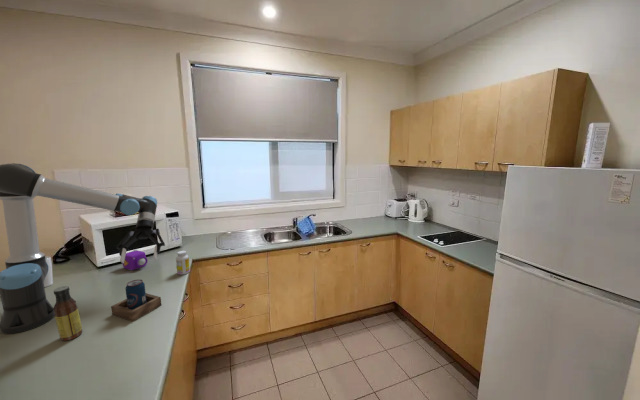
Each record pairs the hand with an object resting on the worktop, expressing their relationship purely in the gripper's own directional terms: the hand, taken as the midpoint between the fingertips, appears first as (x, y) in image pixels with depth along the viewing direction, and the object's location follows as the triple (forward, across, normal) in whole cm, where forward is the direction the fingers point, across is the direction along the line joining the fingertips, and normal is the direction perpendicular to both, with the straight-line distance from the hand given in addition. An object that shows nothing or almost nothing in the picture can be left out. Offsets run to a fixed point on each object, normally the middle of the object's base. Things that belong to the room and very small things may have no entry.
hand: (138, 260), depth 124 cm
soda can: (+22, -2, -3) cm, 22 cm away
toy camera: (-15, +14, -42) cm, 47 cm away
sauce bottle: (+31, +16, +5) cm, 35 cm away
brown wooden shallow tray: (+22, -2, -4) cm, 23 cm away
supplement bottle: (-3, -14, -30) cm, 33 cm away
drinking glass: (-7, +52, -34) cm, 62 cm away
